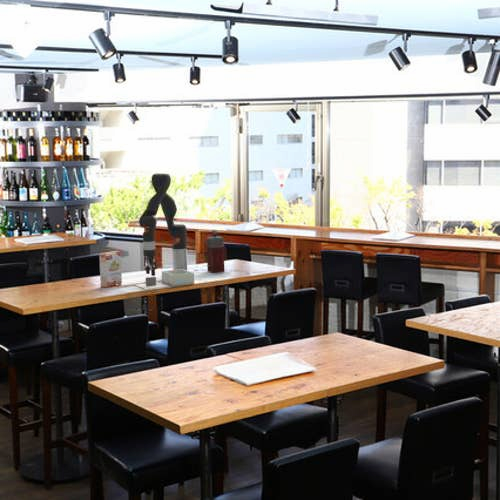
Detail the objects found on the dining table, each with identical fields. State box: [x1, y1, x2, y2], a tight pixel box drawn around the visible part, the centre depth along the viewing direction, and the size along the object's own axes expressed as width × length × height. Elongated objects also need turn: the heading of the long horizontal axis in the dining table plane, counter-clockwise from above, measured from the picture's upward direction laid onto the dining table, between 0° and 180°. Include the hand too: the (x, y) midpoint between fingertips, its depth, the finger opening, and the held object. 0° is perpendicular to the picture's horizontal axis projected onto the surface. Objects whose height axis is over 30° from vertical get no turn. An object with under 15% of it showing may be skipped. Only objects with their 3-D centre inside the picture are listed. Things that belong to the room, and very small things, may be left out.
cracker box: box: [98, 250, 123, 288], centre depth 527 cm, size 14×6×21 cm, turn 148°
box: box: [161, 269, 195, 287], centre depth 529 cm, size 18×14×7 cm
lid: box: [134, 276, 170, 290], centre depth 521 cm, size 19×15×6 cm
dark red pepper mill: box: [206, 229, 228, 274], centre depth 568 cm, size 9×11×28 cm
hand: (150, 274), depth 520 cm, fingers open, 8 cm apart
